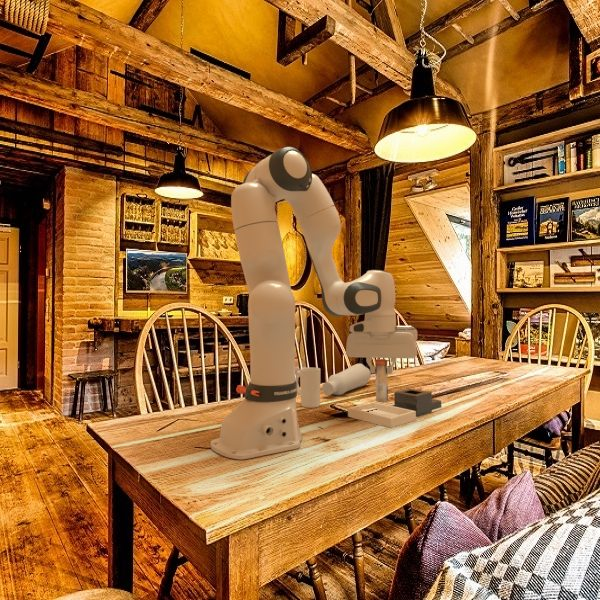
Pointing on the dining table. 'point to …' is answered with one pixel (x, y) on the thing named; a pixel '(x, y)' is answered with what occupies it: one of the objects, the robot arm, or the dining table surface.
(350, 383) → the bottle
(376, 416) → the tray
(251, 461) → the dining table surface
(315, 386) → the mug
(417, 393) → the block
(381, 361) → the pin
